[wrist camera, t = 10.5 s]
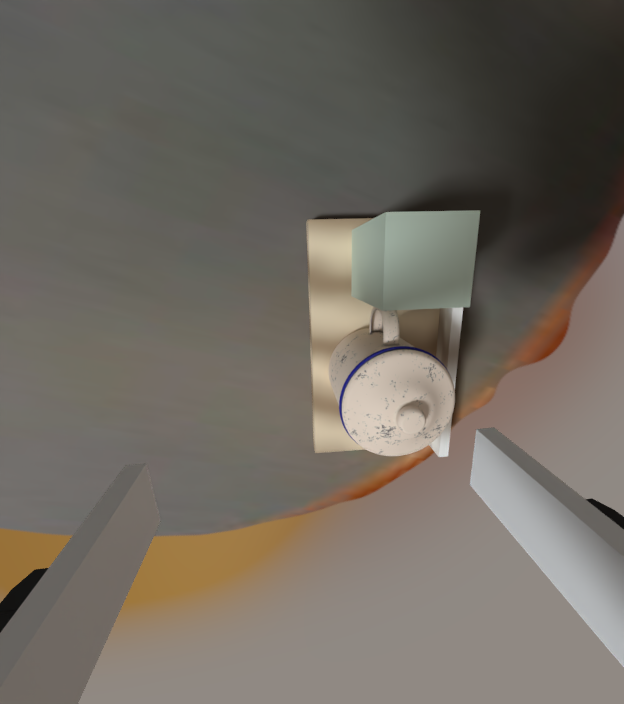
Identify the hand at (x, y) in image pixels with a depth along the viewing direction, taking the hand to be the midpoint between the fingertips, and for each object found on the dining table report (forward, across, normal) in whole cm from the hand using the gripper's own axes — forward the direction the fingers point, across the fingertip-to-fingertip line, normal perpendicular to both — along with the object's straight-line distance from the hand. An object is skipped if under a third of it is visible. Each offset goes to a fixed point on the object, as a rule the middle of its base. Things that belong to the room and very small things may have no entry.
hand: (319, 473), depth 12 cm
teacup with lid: (+19, +7, -2) cm, 21 cm away
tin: (+19, +9, +7) cm, 23 cm away
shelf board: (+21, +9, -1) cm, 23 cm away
